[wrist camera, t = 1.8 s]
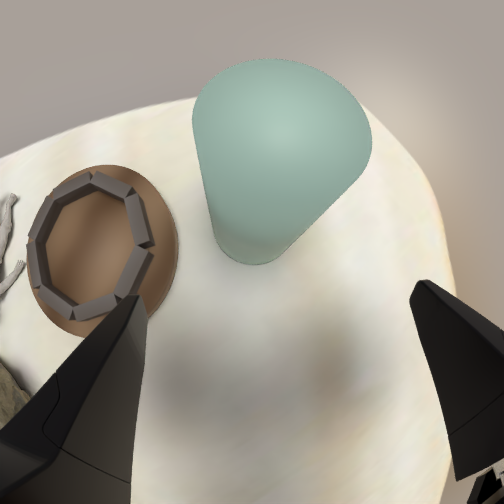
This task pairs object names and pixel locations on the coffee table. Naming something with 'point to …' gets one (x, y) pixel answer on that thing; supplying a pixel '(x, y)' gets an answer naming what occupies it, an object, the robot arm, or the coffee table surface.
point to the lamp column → (275, 153)
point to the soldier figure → (1, 240)
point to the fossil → (10, 396)
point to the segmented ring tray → (100, 247)
